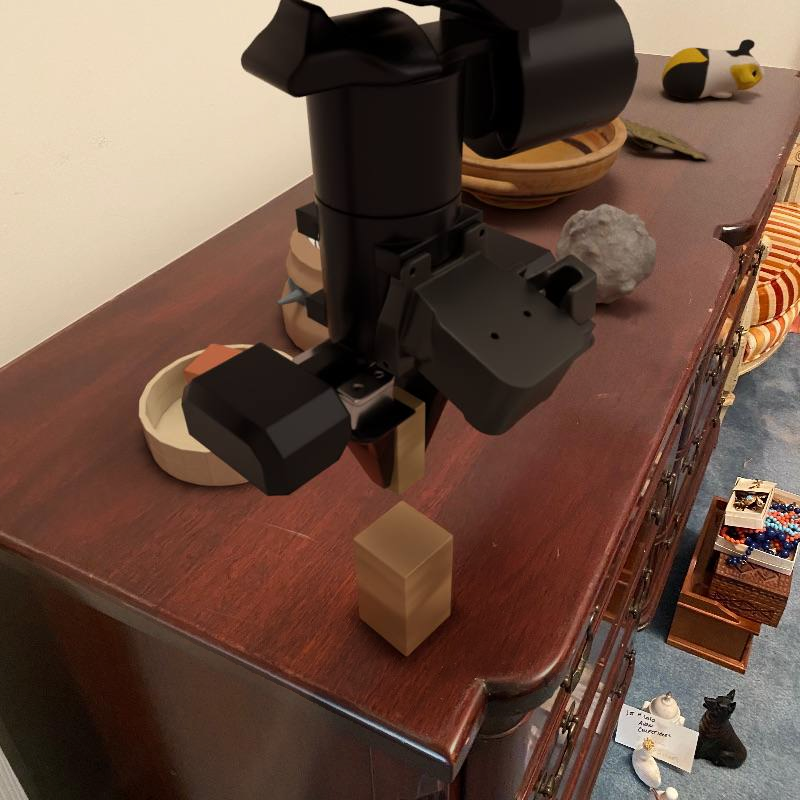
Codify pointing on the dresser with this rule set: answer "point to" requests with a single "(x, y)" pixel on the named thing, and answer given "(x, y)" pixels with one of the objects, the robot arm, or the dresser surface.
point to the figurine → (711, 72)
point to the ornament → (653, 135)
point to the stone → (609, 249)
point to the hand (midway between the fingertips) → (396, 472)
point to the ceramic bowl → (543, 169)
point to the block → (209, 360)
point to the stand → (404, 576)
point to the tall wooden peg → (408, 445)
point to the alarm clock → (302, 291)
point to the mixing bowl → (181, 429)
